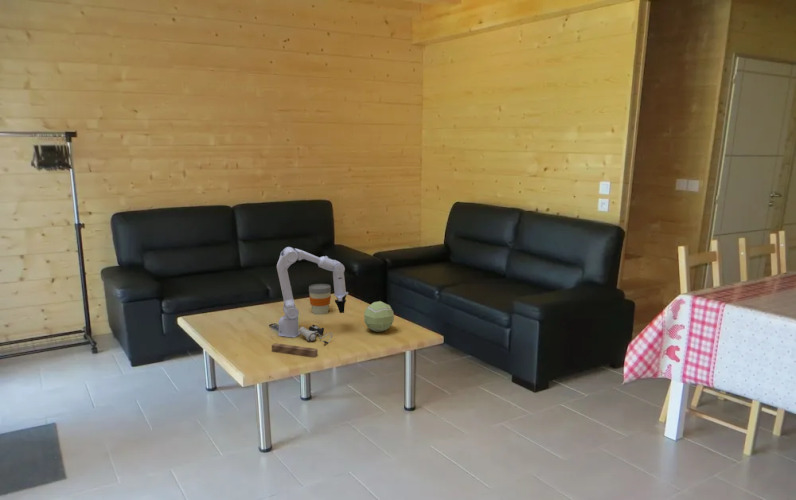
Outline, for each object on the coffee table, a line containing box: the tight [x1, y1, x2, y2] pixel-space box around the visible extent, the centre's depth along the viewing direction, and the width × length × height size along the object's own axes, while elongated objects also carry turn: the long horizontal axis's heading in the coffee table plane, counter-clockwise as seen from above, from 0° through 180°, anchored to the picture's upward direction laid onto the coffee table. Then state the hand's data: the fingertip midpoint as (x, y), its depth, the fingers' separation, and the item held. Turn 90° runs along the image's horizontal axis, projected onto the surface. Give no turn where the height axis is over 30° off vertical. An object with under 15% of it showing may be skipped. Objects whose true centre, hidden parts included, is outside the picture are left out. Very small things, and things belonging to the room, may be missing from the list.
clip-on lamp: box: [299, 324, 333, 344], centre depth 282 cm, size 12×6×18 cm
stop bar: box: [271, 342, 318, 358], centre depth 264 cm, size 22×3×3 cm, turn 71°
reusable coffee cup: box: [308, 283, 332, 315], centre depth 326 cm, size 13×12×15 cm
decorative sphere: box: [363, 300, 395, 333], centre depth 295 cm, size 15×15×15 cm
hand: (342, 310), depth 296 cm, fingers open, 7 cm apart
